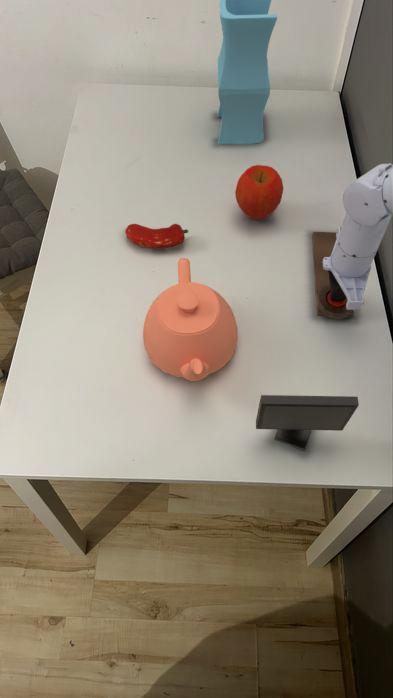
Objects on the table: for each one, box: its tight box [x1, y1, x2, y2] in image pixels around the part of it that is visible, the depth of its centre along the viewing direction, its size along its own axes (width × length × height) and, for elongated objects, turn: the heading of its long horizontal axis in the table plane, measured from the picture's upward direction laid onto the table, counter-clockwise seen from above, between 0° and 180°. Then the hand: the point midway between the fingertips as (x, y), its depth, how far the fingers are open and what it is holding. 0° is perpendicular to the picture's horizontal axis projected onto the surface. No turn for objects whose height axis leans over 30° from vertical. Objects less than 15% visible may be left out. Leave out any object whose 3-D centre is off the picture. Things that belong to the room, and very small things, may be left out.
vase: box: [217, 0, 278, 145], centre depth 97 cm, size 10×10×25 cm
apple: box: [234, 164, 284, 221], centre depth 91 cm, size 9×8×11 cm
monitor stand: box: [274, 429, 312, 452], centre depth 71 cm, size 5×5×7 cm
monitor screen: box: [255, 394, 360, 432], centre depth 66 cm, size 1×12×9 cm, turn 89°
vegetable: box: [124, 223, 189, 250], centre depth 92 cm, size 4×5×12 cm
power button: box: [326, 293, 347, 308], centre depth 83 cm, size 3×3×2 cm
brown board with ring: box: [311, 231, 355, 320], centre depth 87 cm, size 19×6×2 cm, turn 176°
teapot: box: [142, 257, 239, 382], centre depth 77 cm, size 22×15×12 cm
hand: (337, 297), depth 83 cm, fingers closed, pressing on power button
